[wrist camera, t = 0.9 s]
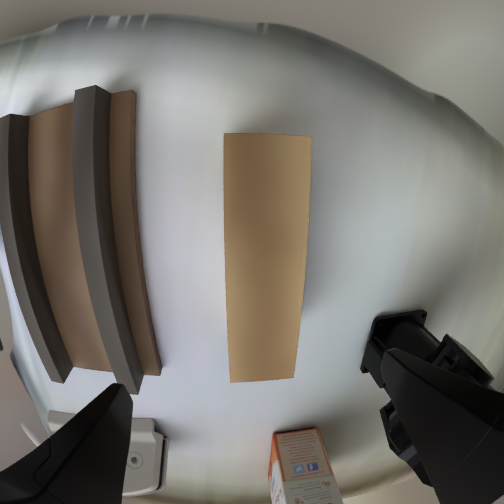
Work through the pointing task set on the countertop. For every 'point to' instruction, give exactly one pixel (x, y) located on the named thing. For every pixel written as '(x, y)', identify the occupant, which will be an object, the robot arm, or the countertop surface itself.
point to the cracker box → (301, 470)
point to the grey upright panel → (135, 455)
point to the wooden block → (265, 251)
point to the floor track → (78, 236)
